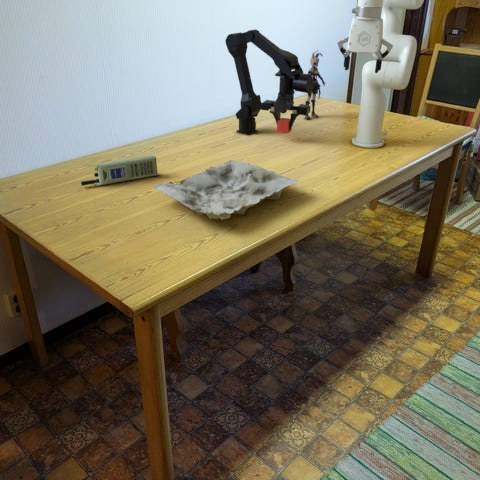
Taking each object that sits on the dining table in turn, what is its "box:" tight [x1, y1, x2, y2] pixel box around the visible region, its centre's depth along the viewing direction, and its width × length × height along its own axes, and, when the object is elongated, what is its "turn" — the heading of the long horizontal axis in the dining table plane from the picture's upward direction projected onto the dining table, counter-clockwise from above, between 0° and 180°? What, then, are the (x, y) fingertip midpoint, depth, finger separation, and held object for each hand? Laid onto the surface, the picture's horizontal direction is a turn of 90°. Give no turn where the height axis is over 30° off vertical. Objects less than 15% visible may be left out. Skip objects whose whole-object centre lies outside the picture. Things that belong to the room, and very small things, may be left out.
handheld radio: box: [80, 155, 159, 187], centre depth 164 cm, size 7×3×25 cm
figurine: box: [304, 49, 326, 120], centre depth 227 cm, size 15×6×30 cm, turn 132°
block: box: [276, 117, 293, 135], centre depth 201 cm, size 5×4×5 cm
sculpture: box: [153, 160, 300, 221], centre depth 153 cm, size 38×6×30 cm
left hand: (284, 128), depth 202 cm, fingers closed on block, 4 cm apart
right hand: (361, 70), depth 164 cm, fingers open, 9 cm apart
